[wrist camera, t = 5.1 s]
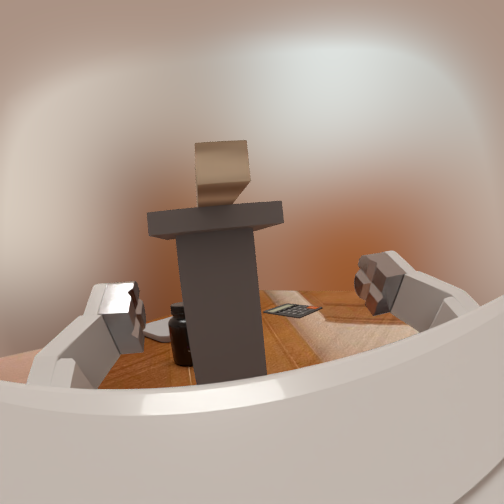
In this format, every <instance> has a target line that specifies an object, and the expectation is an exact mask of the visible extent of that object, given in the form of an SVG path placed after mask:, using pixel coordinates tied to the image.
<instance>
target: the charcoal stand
mask: <svg viewBox="0 0 504 504" xmlns="http://www.w3.org/2000/svg"><path fill="white" fill-rule="evenodd" d="M147 220H148V233H149V236H152V237H157V238H161V239H166V240H169V239H176V245H177V255H178V265H179V274H180V282H181V290H182V298H183V305H184V312H185V319H186V326H187V332H188V338H189V344H190V350H191V356H192V362H193V367H194V372H195V378H196V383H197V385H202V384H211V383H219V382H227V381H234V380H241V379H247V378H253V377H259V376H265V375H267V370H266V360H265V349H264V338H263V328H262V317H261V307H260V296H259V288H258V276H257V267H256V255H255V245H254V236H253V231H257V230H260V229H264V228H267V227H270V226H274V225H278V224H281V223H284V220H283V210H282V201H272V202H257V203H242V204H230V205H218V206H206V207H196V208H186V209H176V210H167V211H158V212H150V213H147Z"/></svg>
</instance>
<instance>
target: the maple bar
mask: <svg viewBox="0 0 504 504" xmlns="http://www.w3.org/2000/svg"><path fill="white" fill-rule="evenodd" d="M195 170H196V195H197V196H196V197H197V207H206V206H218V205H230V204H233V202H234V201H235V200H236V199H237V197H238V196H239V195H240V194H241V192H242V191H243V190H244V189H245V187H246V186H247V185H248V184H249V182H250V181H251V179H250V170H249V159H248V150H247V141H246V140H240V141H218V142H203V143H195Z"/></svg>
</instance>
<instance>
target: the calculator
mask: <svg viewBox="0 0 504 504" xmlns="http://www.w3.org/2000/svg"><path fill="white" fill-rule="evenodd" d="M320 309H322V307H316V306H306V305H297V304H284V305H281V306H278V307H275V308H272V309H269V310H266V311H263V312H264V313H268V314H275V315H281V316H288V317H294V318H302V317H304V316H306V315H309V314H311V313H313V312H316V311H318V310H320Z"/></svg>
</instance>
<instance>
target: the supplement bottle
mask: <svg viewBox="0 0 504 504" xmlns="http://www.w3.org/2000/svg"><path fill="white" fill-rule="evenodd" d="M171 315H173V317H172V318H171V319H170V320H169V322H168V328H169V334H170V341H171V347H172V352H173V358H174V361H175V362H176V363H177V364H178V365H182V366H192V365H193V362H192V356H191V350H190V344H189V338H188V332H187V326H186V319H185V312H184V305H183V302H180V303H174V304H172V305H171Z"/></svg>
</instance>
